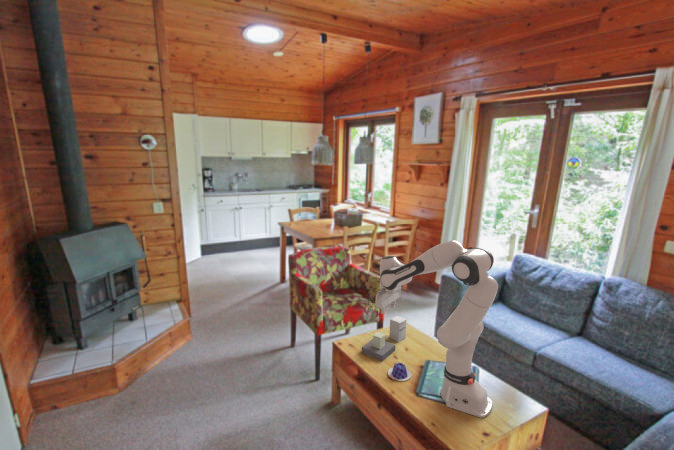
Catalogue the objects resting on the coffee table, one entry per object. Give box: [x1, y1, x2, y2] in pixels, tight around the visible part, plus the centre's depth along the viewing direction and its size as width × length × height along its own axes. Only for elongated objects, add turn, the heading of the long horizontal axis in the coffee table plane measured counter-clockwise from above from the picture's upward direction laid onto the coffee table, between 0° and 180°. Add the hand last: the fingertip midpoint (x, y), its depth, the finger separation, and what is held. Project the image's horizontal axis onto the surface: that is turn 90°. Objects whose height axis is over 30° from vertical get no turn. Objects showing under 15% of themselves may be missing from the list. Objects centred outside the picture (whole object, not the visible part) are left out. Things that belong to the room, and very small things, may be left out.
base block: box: [361, 338, 396, 362], centre depth 199 cm, size 14×14×4 cm
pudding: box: [387, 362, 412, 382], centre depth 178 cm, size 12×12×5 cm
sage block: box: [372, 331, 386, 349], centre depth 198 cm, size 5×5×7 cm
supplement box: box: [389, 315, 407, 343], centre depth 212 cm, size 7×7×13 cm
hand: (388, 310), depth 184 cm, fingers open, 8 cm apart
